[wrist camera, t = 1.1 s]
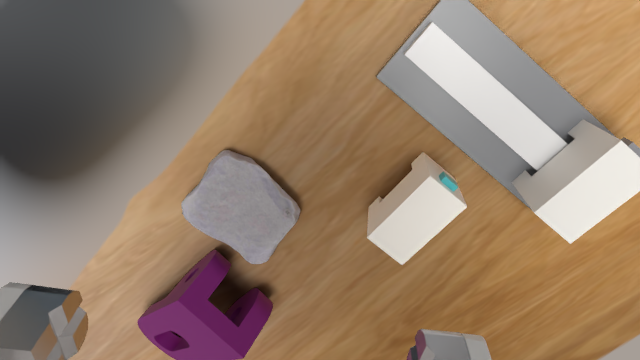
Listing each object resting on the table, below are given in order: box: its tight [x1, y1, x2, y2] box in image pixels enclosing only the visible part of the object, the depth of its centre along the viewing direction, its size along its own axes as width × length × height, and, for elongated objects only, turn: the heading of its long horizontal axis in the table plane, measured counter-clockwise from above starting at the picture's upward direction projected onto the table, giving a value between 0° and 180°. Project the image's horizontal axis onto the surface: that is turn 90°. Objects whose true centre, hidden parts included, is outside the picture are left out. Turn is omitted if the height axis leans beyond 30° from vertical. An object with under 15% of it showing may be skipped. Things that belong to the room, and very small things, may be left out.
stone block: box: [182, 150, 300, 264], centre depth 47 cm, size 12×5×10 cm
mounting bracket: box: [138, 250, 273, 360], centre depth 53 cm, size 9×8×18 cm
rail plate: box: [376, 0, 615, 210], centre depth 40 cm, size 22×10×2 cm, turn 52°
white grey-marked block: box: [511, 119, 640, 244], centre depth 38 cm, size 4×9×7 cm, turn 142°
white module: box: [367, 152, 467, 265], centre depth 42 cm, size 4×9×7 cm, turn 142°
